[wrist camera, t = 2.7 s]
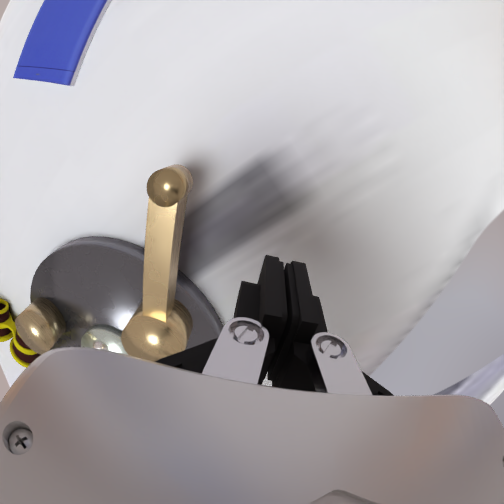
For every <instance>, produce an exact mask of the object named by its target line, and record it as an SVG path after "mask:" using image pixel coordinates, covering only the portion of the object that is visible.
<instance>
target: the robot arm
mask: <svg viewBox="0 0 504 504" xmlns="http://www.w3.org/2000/svg"><path fill="white" fill-rule="evenodd" d="M267 371H268V380H271V381H272V386H265V385H261V384H262V382H263V380H264V379H265V376H266V374H267ZM0 504H504V428H503V426H502V424H501V422H500V420H499V418H498V416H497V415H496V413H495V411H494V410H493V409H492V407H491V406H490V405H489V404H487V403H485V402H483V401H482V400H479V399H476V398H473V397H469V396H463V395H422V396H394V395H393V394H391V393H390V392H389V391H388V390H387V389H385V388H384V387H382V386H381V385H380V384H378V383H377V382H376V381H374V380H373V379H372V378H370V377H369V376H368V375H366V374H365V373H363V372H362V371H361V369H360V367H359V365H358V363H357V360H356V358H355V356H354V354H353V352H352V350H351V348H350V346H349V344H348V343H347V342H346V341H345V340H344V339H343V338H341V337H339V336H338V335H335V334H333V333H328V332H327V328H326V324H325V319H324V315H323V311H322V307H321V303H320V299H319V297H317V296H313V295H312V291H311V286H310V282H309V277H308V273H307V269H306V264H305V263H301V262H296V261H292V262H291V264H289V263H286V265H285V268H284V266H283V262H280V261H279V258H278V257H273V256H269V255H266V256H265V258H264V262H263V266H262V269H261V273H260V277H259V281H258V284H254V283H249V282H245V281H242V282H241V286H240V290H239V294H238V299H237V303H236V308H235V313H234V318H233V319H231V320H229V321H227V322H226V324H225V325H224V327H223V329H222V331H221V333H220V336H219V337H218V338H216V339H213V340H210V341H208V342H205V343H202V344H200V345H197V346H194V347H192V348H189V349H186V350H184V351H181V352H178V353H175V354H172V355H170V356H167V357H164V358H161V359H159V360H157V361H155V362H153V361H149V360H145V359H141V358H138V357H134V356H130V355H127V354H123V353H118V352H113V351H109V350H103V349H96V348H87V347H63V348H56V349H53V350H50V351H47V352H45V353H43V354H42V355H40V356H39V357H38V358H36V359H35V360H34V361H33V362H32V363H31V364H30V365H29V366H28V367H27V368H26V369H25V370H24V371H23V372H22V374H21V375H20V376H19V377H18V378H17V380H16V381H15V382H14V383H13V385H12V386H11V388H10V389H9V391H8V392H7V393H6V395H5V396H4V398H3V399H2V401H1V402H0Z"/></svg>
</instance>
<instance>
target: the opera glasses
mask: <svg viewBox="0 0 504 504" xmlns="http://www.w3.org/2000/svg"><path fill="white" fill-rule="evenodd" d="M8 308H9V305H8V302H7V301H5V300H3V299H1V298H0V342H4V341H7V340H9V339H11V338H12V337H13V338H12V340H11V342H10V352H11V354H12V356H13V358H14V359H15V360H16V362H18V363H19V364H20V365H22V366H24V367H26V368H27V367H28V366H29V365H30V364H31V363H32V362H33V361H34V360H35V359H36V358H38V357H39V356H40V355H41V354H38V353H36V352H34V351H33V350H32V349H30V348H29V347H28V346H27V345H26V344H25V343H24V341H23V340H22V339H21V337H20V336H19V334H18V332H17V329H16V326H15V322H14V321H13V320H12V316H11V314H10V311H9V309H8Z"/></svg>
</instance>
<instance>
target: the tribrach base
mask: <svg viewBox="0 0 504 504" xmlns="http://www.w3.org/2000/svg"><path fill="white" fill-rule="evenodd" d="M144 251H145V249H144V248H142V247H140V246H137V245H135V244H132V243H129V242H126V241H123V240H119V239H114V238H108V237H86V238H80V239H77V240H74V241H71V242H69V243H67V244H65V245H64V246H62V247H60V248H59V249H58V250H56V251H55V252H53V253H52V254H51V255H49V256H48V257H47V258H46V259H45V260H44V261H43V262H42V263H41V264H40V266H39V267H38V269H37V270H36V272H35V275H34V277H33V281H32V285H31V296H30V299H31V304H30V305H29V306H28V307H27V308H26V309H25V310H24V311H23V312H22V313H21V314H20V315H19V316H18V317H17V318H16V319H15V326H16V329H17V332H18V334H19V336H20V337H21V339H22V340H23V341H24V343H25V344H26V345H27V346H28V347H29V348H30V349H32V350H33V351H34V352H36V353H38V354H41V355H42V354H43V353H45V352H47V351H50V350H53V349H56V348H63V347H87V348H96V349H103V350H109V351H113V352H118V353H123V354H127V352H126V351H125V349H124V347H123V345H122V341H121V334H122V331H123V329H124V328H125V326H126V325H127V323H128V322H129V320H130V319H131V317H132V316H133V314H134V313H135V311H136V310H137V308H138V307H139V305H140V304H141V302H142V301H143V272H144ZM175 299H176V300H178V301H179V302H181V303H182V304H183V305H184V306H185V307H186V308H187V309H188V311H189V312H190V314H191V316H192V320H193V328H192V332H191V334H190V337H189V340H188V343H187V345H186V348H185V350H186V349H189V348H192V347H194V346H197V345H200V344H202V343H205V342H208V341H210V340H213V339H216V338H218V337H219V336H220V333H221V331H222V329H223V326H222V324H221V321H220V319H219V318H218V316H217V314H216V312H215V310H214V308H213V307H212V306H211V304H210V303H209V302H208V300H207V299H206V297H205V296H204V295H203V294H202V292H201V291H200V290H199V289H198V288H197V287H196V286H195V285H194V284H193V282H191V281H190V280H189V279H188V278H187V277H186V276H185V275H184V274H183V273H182V272H180V271H179V270H178V272H177V281H176V292H175ZM127 355H128V354H127Z"/></svg>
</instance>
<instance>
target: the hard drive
mask: <svg viewBox="0 0 504 504" xmlns="http://www.w3.org/2000/svg"><path fill="white" fill-rule="evenodd" d="M110 2H111V0H44V2H43V4H42V6H41V8H40V10H39V12H38V15H37V17H36V19H35V21H34V23H33V25H32V28H31V30H30V32H29V35H28V37H27V40H26V42H25V45H24V47H23V50H22V53H21V56H20V58H19V61H18V65H17V67H16V71H15V74H14V77H13V78H19V79H29V80H37V81H44V82H51V83H57V84H63V85H69V86H74V84H75V81H76V79H77V76H78V73H79V70H80V68H81V65H82V62H83V60H84V57H85V55H86V52H87V50H88V48H89V45H90V43H91V41H92V38H93V36H94V34H95V32H96V30H97V28H98V25H99V23H100V21H101V19H102V17H103V15H104V13H105V11H106V10H107V8H108V6H109V4H110Z"/></svg>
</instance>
